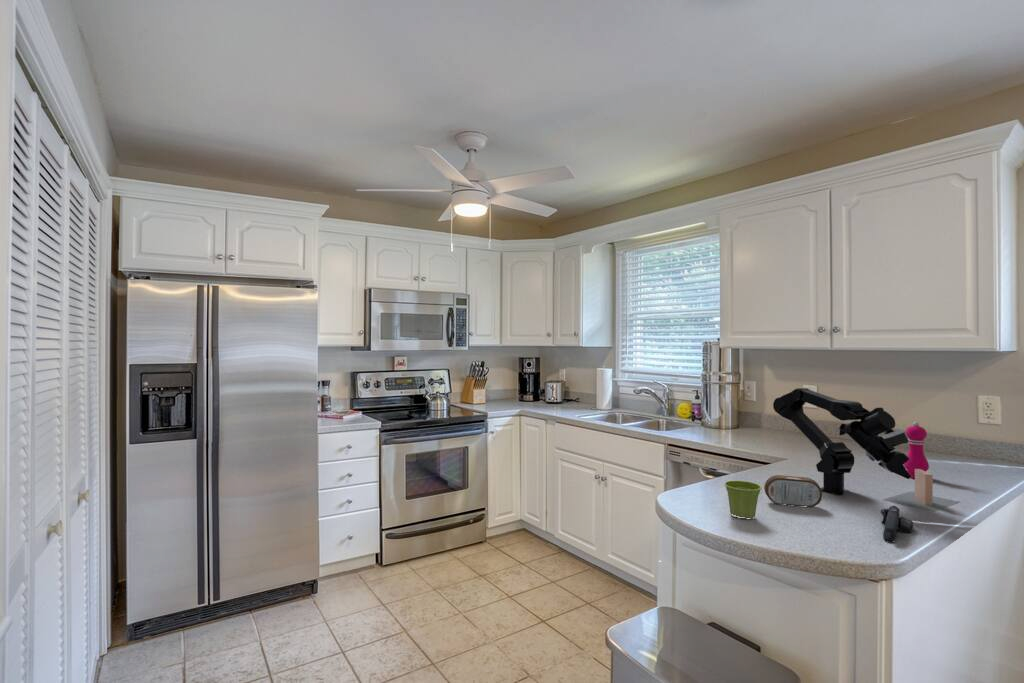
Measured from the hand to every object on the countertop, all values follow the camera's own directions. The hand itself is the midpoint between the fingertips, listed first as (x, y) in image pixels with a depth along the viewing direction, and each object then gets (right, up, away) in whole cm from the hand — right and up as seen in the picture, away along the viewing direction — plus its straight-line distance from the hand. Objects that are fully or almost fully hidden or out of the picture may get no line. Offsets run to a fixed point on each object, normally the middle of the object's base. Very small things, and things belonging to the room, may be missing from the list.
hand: (909, 477), depth 157 cm
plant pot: (-56, -7, -13) cm, 58 cm away
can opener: (-23, -8, -26) cm, 35 cm away
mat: (+4, -8, 0) cm, 9 cm away
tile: (+4, -7, -1) cm, 8 cm away
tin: (-36, -8, -3) cm, 37 cm away
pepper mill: (+26, -8, +31) cm, 42 cm away
